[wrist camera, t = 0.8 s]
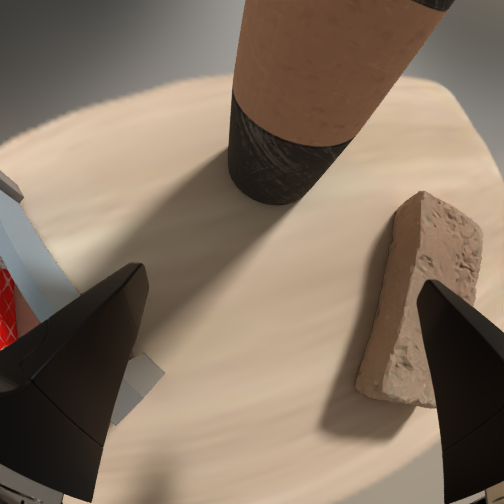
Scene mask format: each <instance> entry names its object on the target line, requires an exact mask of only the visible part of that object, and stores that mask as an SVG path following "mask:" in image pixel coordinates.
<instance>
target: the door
mask: <svg viewBox="0 0 504 504" xmlns="http://www.w3.org/2000/svg"><path fill="white" fill-rule="evenodd" d="M0 256H1V258H2V260H3V262H4V264H5V265H6V267H7V269H8V271H9V273H10V275H11V277H12V278H13V280H14V282H15V284H16V285H17V287H18V289H19V290H20V292H21V294H22V295H23V297H24V299H25V300H26V302H27V303H28V305H29V306H30V308H31V310H32V311H33V313H34V314H35V316H36V317H37V319H38V320H39V321H40V323H42V322H43V321H45V320H46V319H48V318H49V317H50V316H52V315H53V314H55V313H56V312H57V311H59V310H60V309H62V308H63V307H64V306H66V305H67V304H69V303H70V302H72V301H73V300H75V299H76V298H77V297H79V296H80V293H79V292H78V291H77V289H76V288H75V287H74V286H73V284H72V283H71V282H70V280H69V279H68V278H67V276H66V275H65V274H64V272H63V271H62V269H61V268H60V267H59V265H58V264H57V262H56V261H55V259H54V258H53V257H52V255H51V254H50V252H49V251H48V249H47V248H46V246H45V245H44V243H43V242H42V240H41V238H40V237H39V235H38V234H37V232H36V231H35V229H34V227H33V226H32V224H31V222H30V221H29V219H28V217H27V216H26V214H25V212H24V210H23V209H22V207H21V205H20V204H19V203H18V202H16V201H15V200H14V199H12V198H11V197H9V196H8V195H7V194H5V193H4V192H3V191H1V190H0ZM131 359H132V352H131V355H130V358H129V360H131Z"/></svg>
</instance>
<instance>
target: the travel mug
mask: <svg viewBox="0 0 504 504" xmlns="http://www.w3.org/2000/svg"><path fill="white" fill-rule="evenodd" d="M454 1H455V0H246V2H245V7H244V12H243V18H242V24H241V31H240V37H239V44H238V50H237V57H236V64H235V70H234V77H233V87H232V101H231V116H230V131H229V148H228V167H229V171H230V175H231V177H232V179H233V181H234V182H235V184H236V185H237V187H238V188H239V189H240V190H241V191H242V192H243V193H244V194H246V195H247V196H249V197H250V198H252V199H254V200H256V201H258V202H262V203H265V204H270V205H283V204H288V203H291V202H294V201H296V200H298V199H300V198H301V197H303V196H304V195H305V194H306V193H307V192H308V191H309V190H310V189H311V188H312V187H313V186H314V184H315V183H316V182H317V181H318V180H319V179H320V177H321V176H322V175H323V174H324V173H325V172H326V170H327V169H328V168H329V167H330V166H331V164H332V163H333V162H334V161H335V160H336V159H337V157H338V156H339V155H340V154H341V153H342V152H343V150H344V149H345V148H346V147H347V146H348V144H349V143H350V142H351V141H352V140H353V139H354V137H355V136H356V135H357V134H358V132H359V131H360V130H361V129H362V127H363V126H364V125H365V123H366V122H367V120H368V119H369V118H370V116H371V115H372V114H373V112H374V111H375V110H376V108H377V107H378V106H379V104H380V103H381V102H382V100H383V99H384V98H385V96H386V95H387V93H388V92H389V91H390V89H391V88H392V87H393V85H394V84H395V83H396V81H397V80H398V79H399V77H400V76H401V74H402V73H403V71H404V70H405V69H406V68H407V66H408V65H409V63H410V62H411V61H412V59H413V58H414V56H415V55H416V54H417V52H418V51H419V50H420V48H421V47H422V46H423V44H424V43H425V41H426V40H427V38H428V37H429V36H430V34H431V33H432V32H433V30H434V29H435V27H436V26H437V25H438V23H439V22H440V20H441V19H442V18H443V16H444V15H445V13H446V12H447V10H448V9H449V7H450V6H451V5H452V3H453V2H454Z"/></svg>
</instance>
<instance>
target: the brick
mask: <svg viewBox="0 0 504 504" xmlns="http://www.w3.org/2000/svg"><path fill="white" fill-rule="evenodd" d="M392 238H393V242H392V244H391V245H390V246H389V249H388V253H389V257H388V260H387V265H386V269H385V275H384V278H383V283H382V290H381V293H380V298H379V303H378V309H377V311H376V315H375V319H374V322H373V328H372V332H371V335H370V338H369V340H368V343H367V346H366V349H365V352H364V356H363V359H362V362H361V366H360V370H359V373H358V375H357V379H356V383H355V389H357V390H358V392H359V393H361V394H364V395H366V396H367V397H370V398H373V399H377V400H387V401H389V402H397V403H401V404H409V405H416V406H420V407H426V408H437V407H436V401H435V395H434V390H433V385H432V380H431V375H430V370H429V366H428V361H427V357H426V353H425V349H424V344H423V339H422V333H421V327H420V321H419V315H418V310H417V305H416V301H417V297H418V295H419V293H420V291H421V288H422V286H423V284H424V282H425V281H426V280H427V279H436V280H438V281H440V282H441V283H442V284H444V285H445V286H447V287H448V288H449V289H450V290H452V291H453V292H454V293H456V294H457V295H458V296H460V297H461V298H462V299H463V300H465V301H466V302H467V303H469V304H470V305H471V306H472V307H473V305H474V302H475V297H476V296H475V294H476V288H475V286H476V283H477V279H478V272H479V271H480V263H481V259H482V258H481V254H482V246H483V233H482V230H481V228H480V226H479V225H478V224H477V223H475V222H474V221H473V219H472V218H470V217H468V216H467V215H466V214H464V213H463V212H461V211H460V210H458V209H457V208H456V207H454V206H452V205H450V204H448V203H446V202H443V201H442V200H440V199H438V198H436V197H434V196H433V195H431V194H430V193H428V192H426V191H419V192H418V193H417V194H415V195H414V196H412V197H411V198H409V199H408V200H407V201H405V202H404V203H403V204H402V205H401V206H400V207H399V208H398V210H397V213H396V215H395V220H394V226H393V230H392Z"/></svg>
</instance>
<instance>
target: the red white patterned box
mask: <svg viewBox="0 0 504 504" xmlns="http://www.w3.org/2000/svg"><path fill="white" fill-rule="evenodd" d="M16 340H17V330H16V319H15V304H14V280H13V278H12V277H11V275H10V273H9V271H8V270H6V269H2V268H0V350H2V349H3V348H5V347H7V346H8V345H10V344H11V343H13V342H14V341H16Z"/></svg>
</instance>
